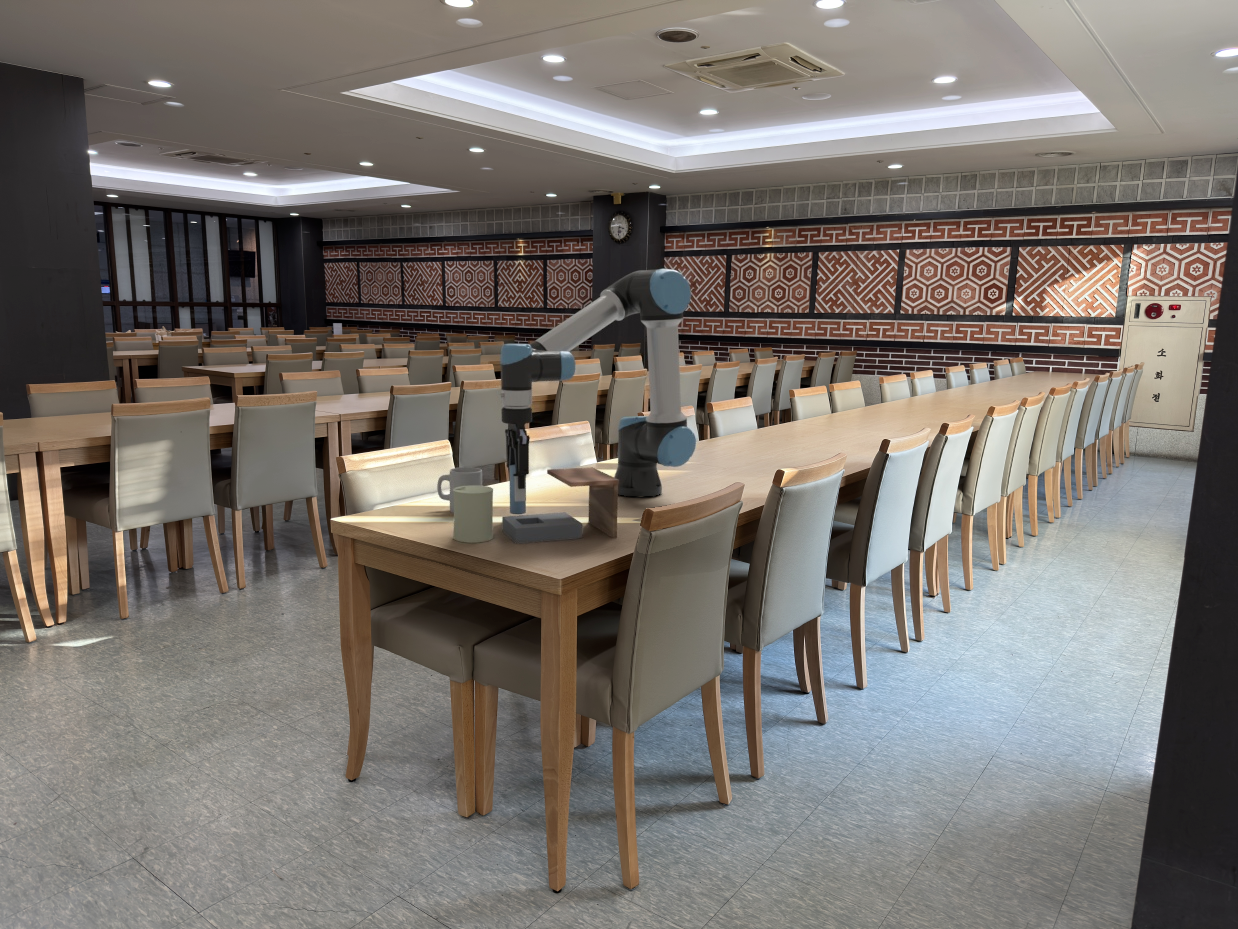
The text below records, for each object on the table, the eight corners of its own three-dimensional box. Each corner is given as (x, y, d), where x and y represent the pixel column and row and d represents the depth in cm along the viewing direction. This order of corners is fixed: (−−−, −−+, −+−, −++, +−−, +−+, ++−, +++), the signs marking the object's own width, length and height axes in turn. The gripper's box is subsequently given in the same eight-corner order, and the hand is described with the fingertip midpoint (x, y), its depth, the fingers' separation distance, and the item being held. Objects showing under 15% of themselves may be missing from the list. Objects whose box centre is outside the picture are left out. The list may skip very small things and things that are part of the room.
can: (455, 532, 197) (455, 483, 194) (494, 532, 197) (494, 483, 195) (451, 542, 187) (450, 491, 185) (492, 543, 188) (492, 491, 186)
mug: (486, 508, 222) (486, 467, 221) (477, 515, 214) (477, 473, 212) (442, 505, 224) (442, 465, 222) (432, 512, 215) (432, 471, 213)
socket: (565, 526, 205) (565, 512, 205) (582, 538, 195) (582, 523, 194) (502, 530, 199) (502, 516, 199) (516, 543, 188) (516, 528, 188)
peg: (523, 510, 212) (522, 464, 210) (527, 513, 209) (527, 466, 206) (508, 511, 211) (507, 465, 208) (512, 514, 207) (511, 467, 205)
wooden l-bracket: (591, 521, 211) (592, 467, 208) (617, 538, 195) (619, 479, 193) (546, 524, 206) (547, 469, 204) (569, 542, 191) (570, 482, 188)
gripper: (493, 403, 211) (494, 493, 215) (511, 411, 196) (512, 507, 200) (521, 402, 214) (522, 491, 218) (541, 410, 198) (542, 505, 203)
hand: (517, 498), depth 209 cm, fingers closed on peg, 4 cm apart
